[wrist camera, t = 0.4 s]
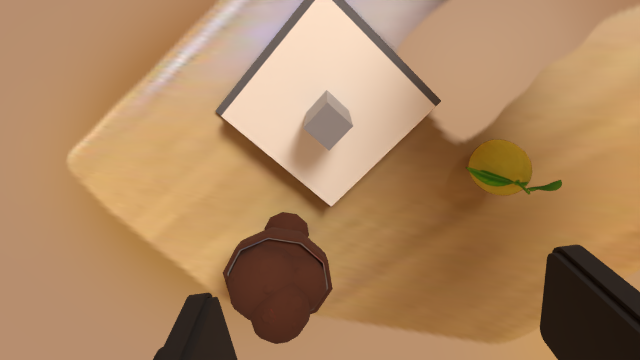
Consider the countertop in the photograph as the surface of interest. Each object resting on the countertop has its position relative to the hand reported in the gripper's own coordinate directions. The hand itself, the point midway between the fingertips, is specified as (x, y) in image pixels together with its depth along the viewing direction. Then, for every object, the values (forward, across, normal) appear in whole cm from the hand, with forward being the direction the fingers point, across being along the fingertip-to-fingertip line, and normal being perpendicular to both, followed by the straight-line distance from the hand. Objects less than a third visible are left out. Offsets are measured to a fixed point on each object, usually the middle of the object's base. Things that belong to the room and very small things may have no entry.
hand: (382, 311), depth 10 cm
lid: (+31, 0, 0) cm, 31 cm away
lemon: (+31, -16, +8) cm, 36 cm away
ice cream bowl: (+32, +8, +15) cm, 36 cm away
